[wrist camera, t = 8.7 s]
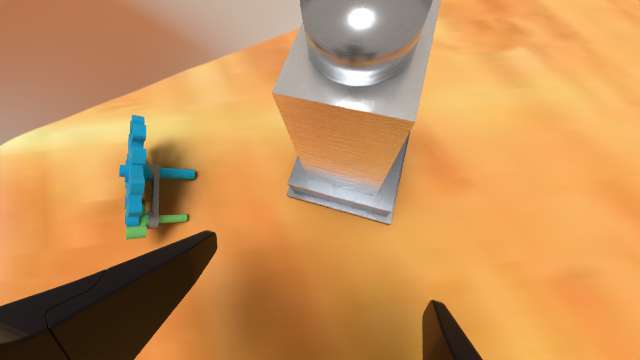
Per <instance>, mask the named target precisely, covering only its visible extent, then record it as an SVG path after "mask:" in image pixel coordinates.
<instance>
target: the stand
mask: <svg viewBox="0 0 640 360" xmlns="http://www.w3.org/2000/svg"><path fill="white" fill-rule="evenodd" d="M409 134H410V132H409ZM409 134H408V136H407V138H406V140H405V142H404V144H403V145H402V147H401V149H400V151H399V153H398V155H397V157H396V159H395V160H394V162H393V164H392V166H391V168H390V170H389V172H388V174H387V176H386V177H385V179H384V181H383V183H382V185H381V187H380V189H379V191H378V192H377V194H376V196H374V195H370V194H366V193H362V192H359V191H355V190H351V189H347V188H344V187H340V186H336V185H332V184H329V183H325V182H321V181H317V180H314V179H310V178H307V176H306V173H305V171H304V169H303V166H302V164H301V161H300V159H299V157H297V159H296V162H295V165H294V168H293V171H292V173H291V176H290V179H289V182H288V185H289V186H290V187H289V190H288V192H287V196H288V197H292V198H295V199H299V200H302V201H306V202H309V203H313V204H317V205H320V206H324V207H327V208H331V209H334V210H338V211H341V212H345V213H349V214H352V215H356V216H359V217H363V218H366V219H370V220H373V221H377V222H381V223H384V224H388V225H390V224H391V219H392V214H393V210H394V205H395V200H396V196H397V191H398V186H399V181H400V177H401V172H402V167H403V162H404V158H405V153H406V148H407V143H408V139H409Z"/></svg>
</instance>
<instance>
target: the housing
mask: <svg viewBox="0 0 640 360" xmlns="http://www.w3.org/2000/svg"><path fill="white" fill-rule="evenodd" d="M440 2H441V0H300V6H301V13H302V19H303V23H302V25H301V27H300V29H299V32H298V34H297V36H296V39H295V41H294V43H293V45H292V48H291V50H290V52H289V54H288V57H287V59H286V61H285V64H284V66H283V68H282V70H281V73H280V75H279V77H278V79H277V82H276V84H275V86H274V89H273V91H272V94H273V97H274V99H275V102H276V104H277V106H278V109H279V111H280V114H281V116H282V118H283V121H284V123H285V126H286V128H287V130H288V133H289V135H290V137H291V140H292V142H293V145H294V147H295V149H296V152H297V154H298V157H299V159H300V161H301V164H302V166H303V169H304V171H305V173H306V176H307V178H310V179H314V180H317V181H321V182H325V183H329V184H332V185H336V186H340V187H344V188H347V189H351V190H355V191H359V192H362V193H366V194H370V195H374V196H376V194H377V192H378V191H379V189H380V187H381V185H382V183H383V181H384V179H385V177H386V176H387V174H388V172H389V170H390V168H391V166H392V164H393V162H394V160H395V159H396V157H397V155H398V153H399V151H400V149H401V147H402V145H403V144H404V142H405V140H406V138H407V136H408V134H409V132H410V130H411V129H412V127H413V125H414V123H415V120H416V115H417V110H418V106H419V101H420V96H421V91H422V87H423V82H424V77H425V73H426V68H427V63H428V58H429V54H430V49H431V44H432V39H433V35H434V30H435V25H436V20H437V16H438V11H439V6H440Z"/></svg>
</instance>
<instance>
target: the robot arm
mask: <svg viewBox="0 0 640 360" xmlns="http://www.w3.org/2000/svg"><path fill="white" fill-rule="evenodd" d="M216 250H217V236H216V233H215V232H212V231H209V230H206V231H203V232H200V233H198V234H195V235H192V236H190V237H187V238H185V239H182V240H180V241H177V242H175V243H172V244H169V245H167V246H164V247H162V248H159V249H157V250H154V251H151V252H149V253H146V254H144V255H141V256H139V257H136V258H134V259H131V260H128V261H126V262H123V263H121V264H118V265H116V266H113V267H110V268H108V269H105V270H103V271H100V272H97V273H95V274H92V275H90V276H87V277H84V278H82V279H79V280H76V281H74V282H71V283H68V284H65V285H62V286H59V287H56V288H53V289H50V290H47V291H44V292H41V293H38V294H35V295H32V296H29V297H26V298H23V299H20V300H17V301H14V302H11V303H8V304H5V305H2V306H0V360H134V359H135V358H136V356H137V355H138V354H139V353H140V351H141V350H142V349H143V348H144V346H145V345H146V344H147V343H148V341H149V340H150V339H151V338H152V336H153V335H154V334H155V333H156V331H157V330H158V329H159V328H160V327H161V325H162V324H163V323H164V322H165V320H166V319H167V318H168V317H169V315H170V314H171V313H172V312H173V310H174V309H175V308H176V307H177V305H178V304H179V303H180V302H181V300H182V299H183V298H184V297H185V295H186V294H187V293H188V292H189V290H190V289H191V288H192V286H193V285H194V284H195V283H196V281H197V280H198V278H199V277H200V275H201V274H202V272H203V271H204V269H205V268H206V266H207V265H208V263H209V261H210V260H211V258H212V257H213V255H214V254H215V252H216ZM422 332H423V360H483V359H482V358H481V356H480V355H479V354H478V352H477V351H476V349H475V348H474V346H473V345H472V343H471V342H470V341H469V339H468V338H467V336H466V335H465V333H464V332H463V330H462V329H461V328H460V326H459V325H458V323H457V322H456V320H455V319H454V317H453V316H452V315H451V313H450V312H449V310H448V309H447V307H446V306H445V305H444V304H443V303H442V302H439V301H435V300H431V301H430V302H429V304H428V306H427V307H426V309H425V311H424V313H423V318H422Z"/></svg>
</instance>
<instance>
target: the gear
mask: <svg viewBox="0 0 640 360" xmlns="http://www.w3.org/2000/svg"><path fill="white" fill-rule="evenodd" d="M144 122H145V121H144V117H141V116H136V115H132V120H131V122H130V134H129V140H128V154H127V160H126V165H120V172H119V176H120V177H125V182H126V189H127V191H126V197H125V209H126V213H125V224H126V227H127V228H126V240H127V239H137V238H146V226H147V229H156V228H158V223H172V222H186V221H187V214H177V215H159V178H172V179H194V178H195V170H191V169H175V168H160V167H159V164H148V163H146V149H143V145H144V141H145V140H146V125H144ZM145 181H152V191H151V211H148V214H147V215H146V214H145V211H146V205H145V204H142V195H144V188H145ZM131 226H134V227H131Z"/></svg>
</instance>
